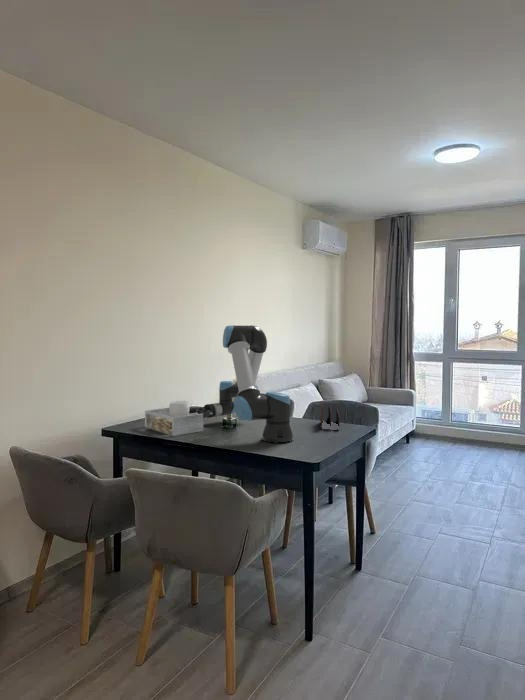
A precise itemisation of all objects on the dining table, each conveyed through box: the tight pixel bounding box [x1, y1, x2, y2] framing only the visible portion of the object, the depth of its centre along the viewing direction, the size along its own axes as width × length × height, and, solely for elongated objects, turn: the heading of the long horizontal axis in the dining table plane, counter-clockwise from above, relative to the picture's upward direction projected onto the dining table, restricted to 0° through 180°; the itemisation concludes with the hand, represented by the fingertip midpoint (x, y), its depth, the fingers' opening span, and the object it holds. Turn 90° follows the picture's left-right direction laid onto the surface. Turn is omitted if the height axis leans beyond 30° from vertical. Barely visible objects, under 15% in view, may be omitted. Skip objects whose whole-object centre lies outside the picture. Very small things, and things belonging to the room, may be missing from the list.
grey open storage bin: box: [144, 407, 204, 437], centre depth 263 cm, size 28×18×10 cm, turn 43°
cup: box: [168, 400, 190, 417], centre depth 265 cm, size 11×11×15 cm
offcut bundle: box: [152, 417, 172, 434], centre depth 259 cm, size 18×4×6 cm, turn 43°
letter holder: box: [319, 400, 340, 427], centre depth 279 cm, size 10×20×14 cm, turn 175°
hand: (180, 414), depth 266 cm, fingers open, 13 cm apart
